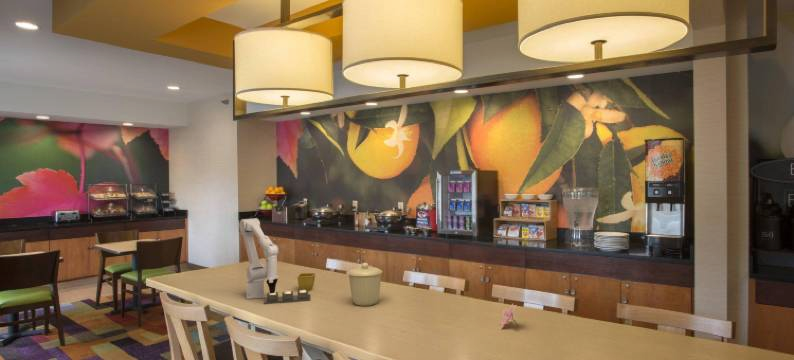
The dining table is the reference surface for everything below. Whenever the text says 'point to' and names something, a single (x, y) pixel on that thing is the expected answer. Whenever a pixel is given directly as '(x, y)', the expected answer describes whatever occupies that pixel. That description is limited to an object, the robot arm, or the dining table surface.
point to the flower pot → (306, 281)
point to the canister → (365, 284)
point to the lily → (507, 315)
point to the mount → (287, 298)
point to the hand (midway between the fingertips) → (272, 293)
